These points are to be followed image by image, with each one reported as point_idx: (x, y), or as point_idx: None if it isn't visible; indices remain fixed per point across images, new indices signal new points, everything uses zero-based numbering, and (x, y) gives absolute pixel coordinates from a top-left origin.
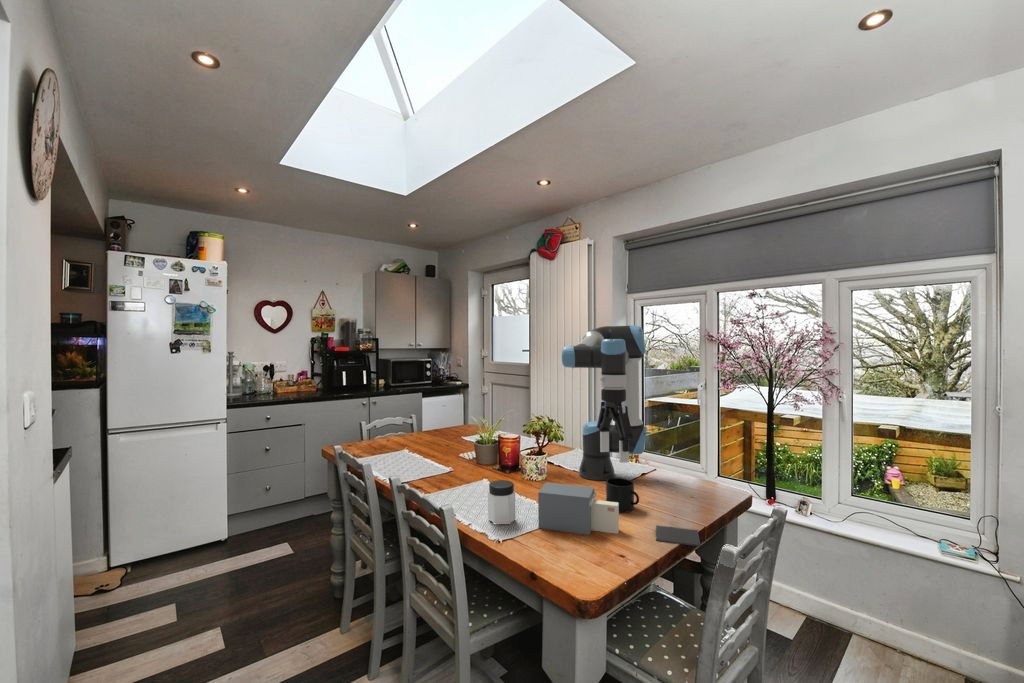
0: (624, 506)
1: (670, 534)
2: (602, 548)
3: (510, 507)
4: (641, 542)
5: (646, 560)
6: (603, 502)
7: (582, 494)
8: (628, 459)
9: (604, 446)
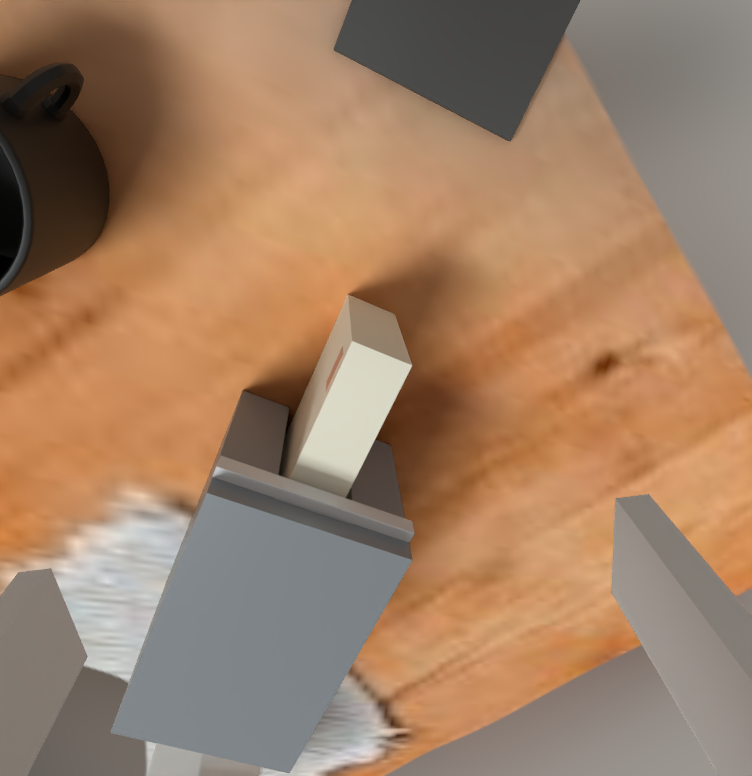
0: (95, 183)
1: (471, 16)
2: (524, 423)
3: (243, 772)
4: (507, 229)
5: (671, 274)
6: (340, 433)
7: (347, 585)
8: (663, 519)
9: (38, 687)
